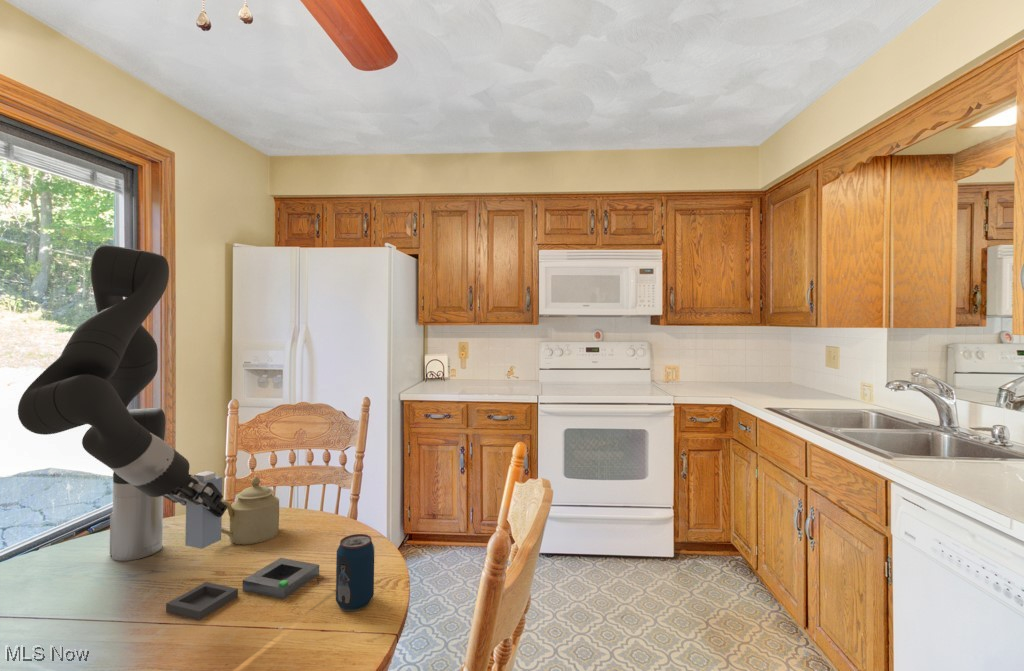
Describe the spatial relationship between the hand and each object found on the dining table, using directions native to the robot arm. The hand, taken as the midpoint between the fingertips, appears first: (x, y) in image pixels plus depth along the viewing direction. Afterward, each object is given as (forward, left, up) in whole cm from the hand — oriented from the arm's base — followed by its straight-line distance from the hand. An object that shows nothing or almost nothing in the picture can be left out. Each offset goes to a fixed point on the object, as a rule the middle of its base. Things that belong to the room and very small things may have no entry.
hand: (213, 510), depth 91 cm
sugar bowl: (-16, +24, -18) cm, 34 cm away
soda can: (+26, +8, -18) cm, 32 cm away
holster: (0, -2, -17) cm, 17 cm away
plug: (0, -2, -5) cm, 6 cm away
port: (+8, +9, -17) cm, 21 cm away
